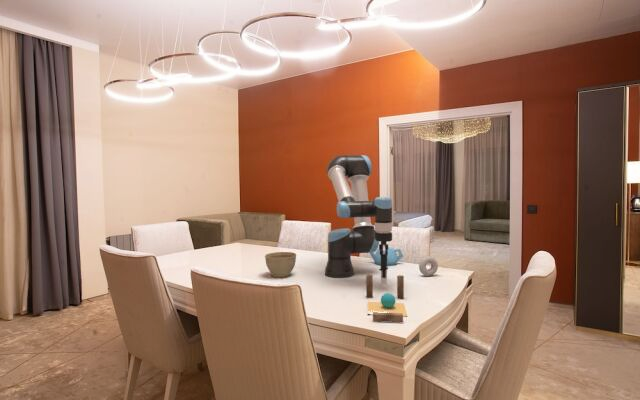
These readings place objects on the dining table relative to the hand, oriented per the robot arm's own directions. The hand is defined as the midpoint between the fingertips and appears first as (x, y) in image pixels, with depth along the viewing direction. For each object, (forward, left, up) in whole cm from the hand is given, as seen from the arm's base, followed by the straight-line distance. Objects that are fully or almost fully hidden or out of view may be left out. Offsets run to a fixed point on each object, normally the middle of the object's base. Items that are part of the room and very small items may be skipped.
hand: (383, 284), depth 164 cm
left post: (-6, -13, -2) cm, 15 cm away
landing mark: (0, -27, -2) cm, 27 cm away
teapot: (+3, +51, -2) cm, 52 cm away
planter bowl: (-52, +19, -2) cm, 55 cm away
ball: (+1, -26, +1) cm, 26 cm away
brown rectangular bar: (0, -39, -2) cm, 39 cm away
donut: (+23, +24, -2) cm, 33 cm away
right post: (+6, -13, -2) cm, 15 cm away
